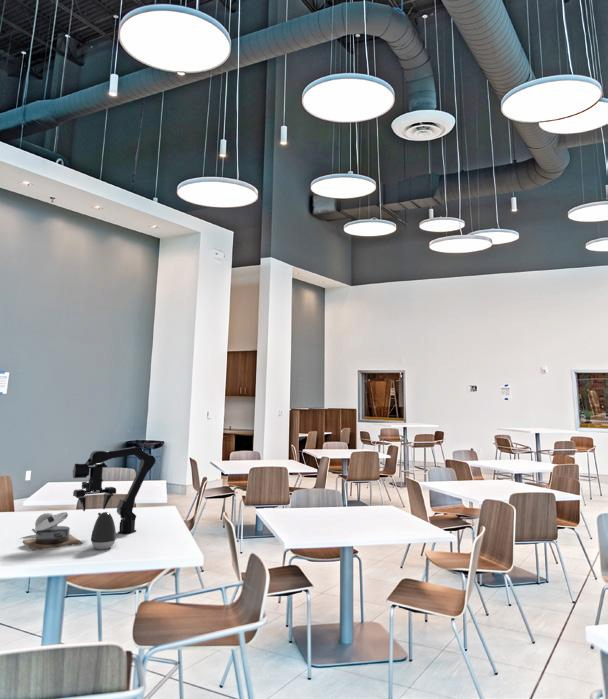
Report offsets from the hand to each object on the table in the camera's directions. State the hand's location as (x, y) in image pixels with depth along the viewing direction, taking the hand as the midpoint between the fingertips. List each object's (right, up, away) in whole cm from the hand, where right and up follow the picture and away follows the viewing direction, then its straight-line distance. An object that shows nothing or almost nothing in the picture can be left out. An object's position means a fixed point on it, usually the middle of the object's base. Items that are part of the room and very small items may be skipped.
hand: (94, 510), depth 243 cm
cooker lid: (-14, -1, -14) cm, 20 cm away
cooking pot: (-13, -10, -14) cm, 22 cm away
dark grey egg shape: (+14, -9, -23) cm, 29 cm away
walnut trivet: (-13, -10, -14) cm, 22 cm away
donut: (-24, -12, +2) cm, 27 cm away
